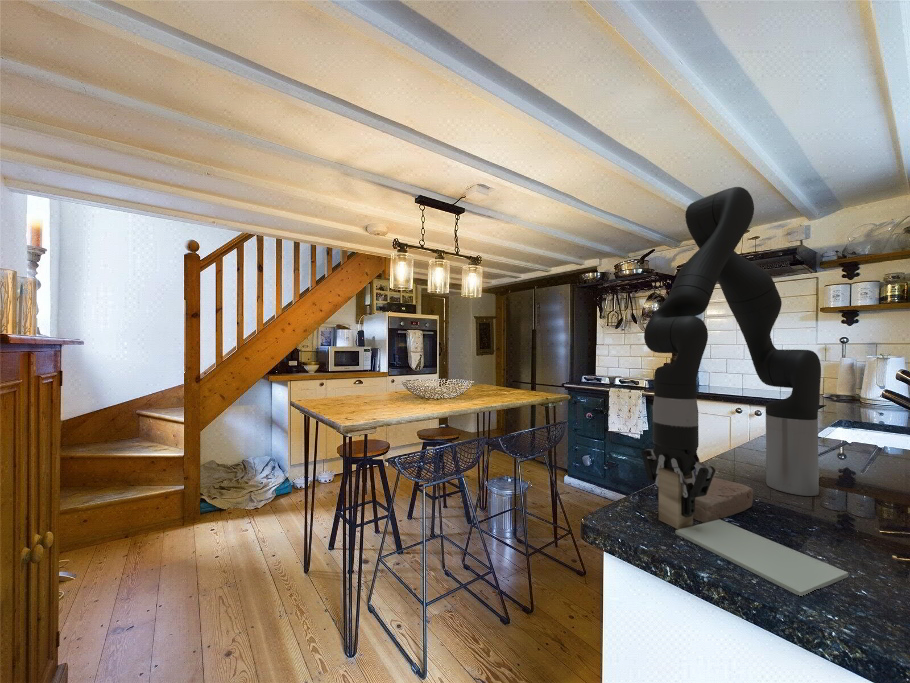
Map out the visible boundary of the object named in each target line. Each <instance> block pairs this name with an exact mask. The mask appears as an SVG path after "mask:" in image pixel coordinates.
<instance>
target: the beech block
mask: <svg viewBox="0 0 910 683" xmlns="http://www.w3.org/2000/svg"><path fill="white" fill-rule="evenodd" d="M689 476H690V474H689V475H688V476H683V477H684V479H686V478H689ZM687 486H688V484H687ZM681 496H682V493H681V484H680V483H679V474H677V473H675V472H674V470H671V469H668V468H665V469H662V468H659V502H658V520H659V521H660V522H662V523H665V524H667V525H668V526H669V527H673V528H675V529H676V530H679V529H683V528H687V527H691V526H694V518H693V515H692V516H691V517H684V516H682V515H681Z"/></svg>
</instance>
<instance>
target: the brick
mask: <svg viewBox="0 0 910 683" xmlns="http://www.w3.org/2000/svg"><path fill="white" fill-rule="evenodd" d="M753 498H754V489H753V488H751V487H750V486H748V485H745V484H743V483H738V482H734V481H730V480H726V479H722V478H718V477H714V476H713V478H712V481H711V484H710V486H709V489H708V491H707V494H706V495H705V496H701V497H696V498H695V513H694V514H693V520H696V521H699V522H701V523H707V522H711V521H714V520H718V519H720V520H722V519H726V518H727V517H730V516H731V517H732V516H733V515H736V514H739V513H741V512H745V511H746V510H748V509H750V508H752V505H753V502H754V500H753Z"/></svg>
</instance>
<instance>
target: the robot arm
mask: <svg viewBox="0 0 910 683" xmlns="http://www.w3.org/2000/svg"><path fill="white" fill-rule="evenodd" d="M754 212H755V203H754V200H753V197H752V195H751V194H750V192H749V191H748V189H746V188H744V187H741V186H734V187H730V188H726V189H723V190H721V191H718V192H715V193H713V194H711V195H707V196H705V197H702V198H700V199H698V200H695V201H693V202H692V203H690V204H688V206H687V207H686V210H685V214H684V215H685V223H686V227H687V229H688V231H689V234H690V236H691V238H692V240H693V241H694V243H695V244H696V246H697V248H698V250H697V251H696V252H695V253H694V254H693V255H692V256H691V257H690V258H689V259H688V260H687V261H686V262H685V263H684V264H683V265H682V267H681V268H680V270H679V271H678V273H677V275H676V277H675V279H674V282H673V284H672V286H671V289H670V292H669V294H668V296H667V298H666V299H665V300H664V301H663V302H662V303H661V305H660V306H658V308H657V309H656V311H655V312H654V313H653V315H652V316H651V317H650V318H649V320H648V322H647V324H646V326H645V328H644V335H643V338H644V339H643V340H644V343H645V345H646V347H647V348H648V349H649V350H650V351H651V352H654V353H657V354H677V355H676V357H675V359H674V362H673V363H672V364H668V365H661V366H658V367H657V368H656V369H655V370H654V374H653V379H654V381H653V385H654V386H653V388H654V389H653V394H654V395H653V403H652V404H653V405H652V441H653V443H654V446H653V448H650V449H649V448H648V449H642V450H641V457H642V462H643V465H644V470H645V473H646V476H647V479H648V481H651V482H653V483H654V484H655V486H656V487H657V494H656V496H657V499H656V500H657V502H658V503H659V468H662V469H665V468H668V469H671V470H674V472H675V473H677V474H679V483H680V484H681V493H682V496H681V515H682V516H684V517H691V516H692V515H693V514H694V513H695V498H696V497H701V496H705V495H706V494H707V491H708V489H709V486H710V484H711V481H712V478H713V477H714V476H715V473H716V469H715V467H714V466H712V465H709V466H707V465H706V464H704V463H703V462H701V461H700V458H699V456H698V449H699V442H700V440H699V407H698V400H697V397H698V395H697V390H698V388H697V386H698V385H697V378H698V373H699V370H700V366H701V362H702V358H703V356H704V353H705V351H706V347H707V343H708V339H709V332H708V328H707V326H706V325H707V324H705V322H704V321H703V320H702V319H701V318H699V317H698V316H700V315H702V314H703V313H704V312H705V311H706V310H707V308H708V306H709V305H710V300H711V298H712V296H713V292H714V290H715V288H716V284H717V283H718V284H719V287H720V288H721V290H722V294H723V296H724V298H725V301H726V303H727V305H728V307H729V309H730V311H731V312H732V315H733V317H734V318H735V321H736V322H737V325H738V327H739V328H740V331H741V333H742V336H743V338H744V341H745V343H746V347H747V349H748V352H749V355H750V358H751V361H752V365H753V367H754V370H755V372H756V375H757V376H758V378H759V380H760V382H762V383H763V384H764V385H766V386H769V387H776V388H786V389H787V388H788V389H792V390H791V393H790V396H788V397H786V398H783V399H781V400H780V399H779V400H774V401H769V402H767V403H766V404H765V463H766V464H765V465H766V466H765V471H766V472H765V473H766V474H765V476H766V477H765V480H766V483H765V484H766V486H767V487H769V488H770V489H774V490H777V491H780V492H783V493H788V494H791V495H797V496H805V497H809V496H810V497H815V496H816V497H817V496H818V495H819V494H820V490H819V487H820V486H819V485H820V484H819V483H820V482H819V471H820V470H819V422H818V421H819V420H818V419H819V418H818V417H819V410H820V409H819V408H820V402H821V401H820V400H821V397H820V396H821V380H822V364H821V359H820V358H819V355H818V354H817V353H816V352H815V351H813V350H811V349H777V348H776V347H775V345H774V343H773V341H772V338H771V336H772V335H771V334H772V330H773V327H774V325H775V323H776V321H777V319H778V317H779V315H780V312H781V309H782V305H783V304H782V302H783V301H782V298H781V296H780V293H779V290H778V288H777V286H776V284H775V281H774V279H773V278H772V276H771V274H770V273H768V272H767V271H766V270H765V269H764V268H762V267H760V265H757V264H755V263H754V262H753V261H751V260H749V259H747V258H745V257H744V256H742V255H740V254H739V253H737V252H736V251H735V250H736V248H737V247H738V245H739V243H740V242H741V240H742V238H743V236H744V235H745V234H746V232H747V230H748V228H749V227H750V225H751V224H752V220H753V218H754ZM694 470H695V472H694ZM689 474H690V476H689V478H686V479H684V477H683V476H688V475H689ZM695 475H696V476H695ZM687 484H688V486H687Z"/></svg>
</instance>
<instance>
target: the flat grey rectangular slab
mask: <svg viewBox="0 0 910 683" xmlns="http://www.w3.org/2000/svg"><path fill="white" fill-rule="evenodd" d="M675 535H677V536H679V537H681V538H683V539H685V540H687V541H688V542H691V543H693V544H695V545H697V546H699V547H701V548H703V549H705V550H706V551H708V552H709V551H710V552H711V553H713V554H714V555H717V556H719V557H721V558H723V559H725V560H727V561H729V562H731V563H733V564H735V565H736V566H739V567H741V568H742V569H744V570H747V571H748V572H751V573H753V574H755V575H757V576H759V577H760V578H762V579H765V580H767V581H769V582H770V583H772V584H774V585H776V586H779V587H780V588H782V589H785V590H786V591H789V592H790V593H793V594H795V595H796V596H798V595H799V597H800V596H802V597H804V596H807V595H808V593H809V594H811V593H810V592H812V591H814V590H816V589H819V590H820V588H821V589H823V588H826V587H827V586H830V585H833V584H835V583H837V582H840V581H842V580H845V579H846V578H849V572H848V571H845V570H843V569H840V568H839V567H838V568H837V567H836V566H833V565H831V564H828V563H826V562H824V561H822V560H819V559H817V558H814V557H812V556H809V555H807V554H804V553H802V552H799V551H797V550H794V549H793V548H791V547H788V546H785V545H783V544H780V543H778V542H775V541H773V540H772V539H768V538H766V537H764V536H761V535H759V534H756V533H754V532H751V531H749V530H746V529H744V528H742V527H739V526H737V525H736V524H733V523H730V522H727V521H725V520H722V519H718V520H714V521H711V522H707V523H704V522H702V523H700V524H696V525H693V526H689V527H685V528H681V529H676V530H675ZM816 591H817V590H816ZM814 592H815V591H814ZM812 593H813V592H812ZM806 594H807V595H806ZM803 595H804V596H803Z"/></svg>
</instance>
